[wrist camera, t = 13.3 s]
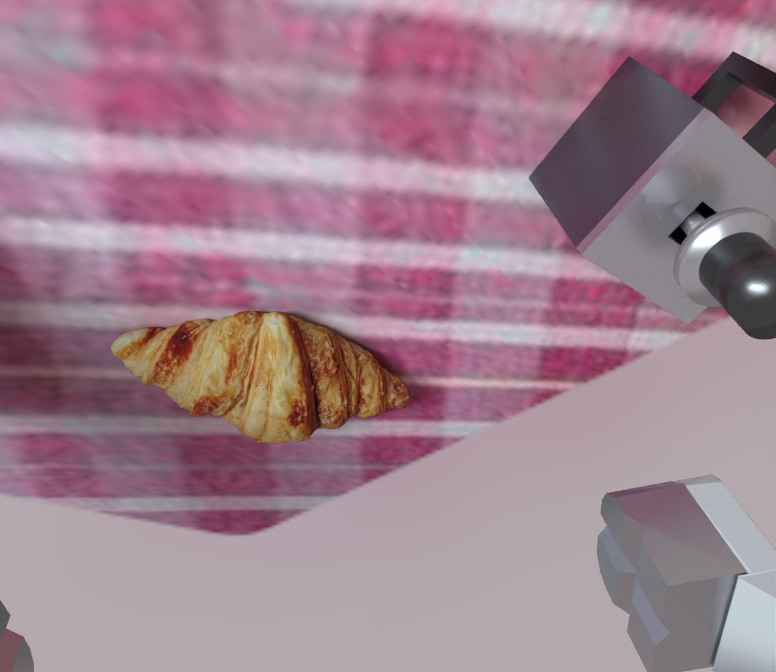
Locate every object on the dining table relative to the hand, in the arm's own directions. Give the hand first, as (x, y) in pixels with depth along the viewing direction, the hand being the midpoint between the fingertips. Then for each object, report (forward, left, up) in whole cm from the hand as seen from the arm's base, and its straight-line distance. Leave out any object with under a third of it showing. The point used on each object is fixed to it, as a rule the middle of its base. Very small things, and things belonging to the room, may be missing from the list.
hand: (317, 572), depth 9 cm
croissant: (-21, -10, -35) cm, 42 cm away
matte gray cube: (+6, -22, -35) cm, 42 cm away
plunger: (+4, -22, -33) cm, 40 cm away
